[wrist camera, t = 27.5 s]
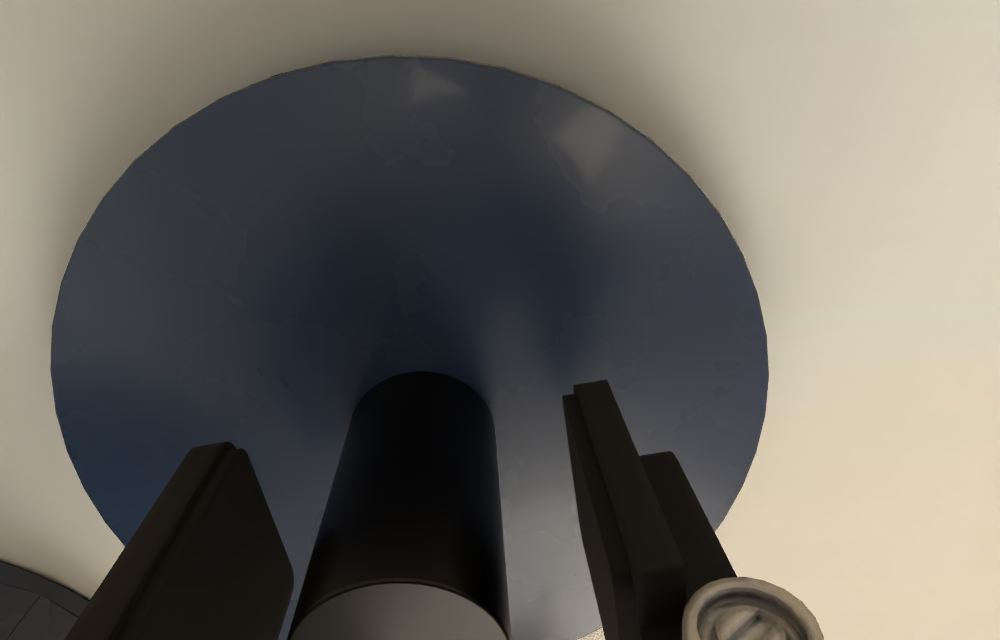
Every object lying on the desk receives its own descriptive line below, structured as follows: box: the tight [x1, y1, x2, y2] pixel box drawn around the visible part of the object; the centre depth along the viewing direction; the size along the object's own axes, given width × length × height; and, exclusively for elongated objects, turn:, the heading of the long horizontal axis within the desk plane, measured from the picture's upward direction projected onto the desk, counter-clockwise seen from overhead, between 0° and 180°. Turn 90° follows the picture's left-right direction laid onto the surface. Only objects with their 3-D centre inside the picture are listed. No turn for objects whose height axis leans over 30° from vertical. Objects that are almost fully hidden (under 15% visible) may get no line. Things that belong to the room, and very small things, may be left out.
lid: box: [51, 55, 769, 640], centre depth 11 cm, size 14×14×6 cm
